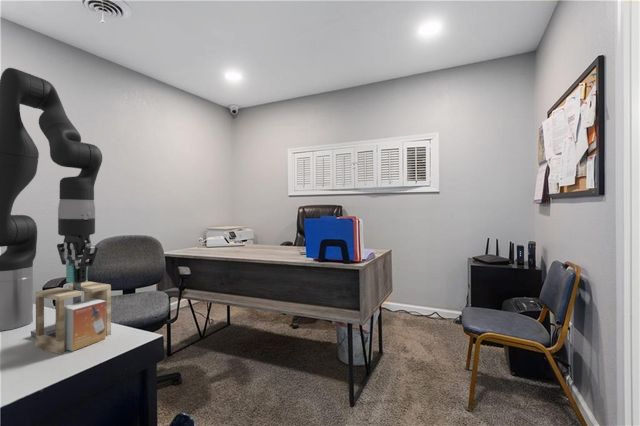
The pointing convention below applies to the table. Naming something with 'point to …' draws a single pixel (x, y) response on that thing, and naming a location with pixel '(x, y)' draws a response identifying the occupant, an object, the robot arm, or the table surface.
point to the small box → (84, 323)
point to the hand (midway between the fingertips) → (77, 281)
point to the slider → (76, 286)
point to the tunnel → (59, 295)
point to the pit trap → (46, 331)
